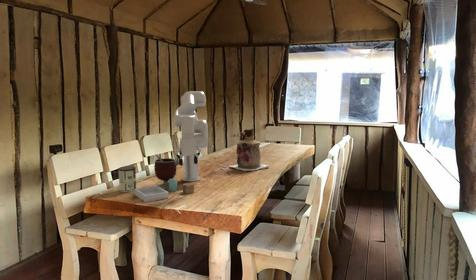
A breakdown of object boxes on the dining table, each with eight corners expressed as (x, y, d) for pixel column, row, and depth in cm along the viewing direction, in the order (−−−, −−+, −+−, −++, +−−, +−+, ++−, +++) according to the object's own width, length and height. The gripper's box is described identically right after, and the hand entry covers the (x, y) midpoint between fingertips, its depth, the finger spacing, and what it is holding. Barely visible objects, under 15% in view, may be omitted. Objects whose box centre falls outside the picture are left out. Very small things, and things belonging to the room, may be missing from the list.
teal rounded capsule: (167, 190, 229) (167, 179, 228) (175, 188, 232) (175, 178, 231) (171, 191, 225) (170, 180, 224) (178, 190, 228) (178, 179, 227)
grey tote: (134, 194, 219) (134, 188, 219) (157, 191, 227) (156, 185, 227) (145, 202, 204) (144, 196, 204) (168, 198, 212) (168, 192, 212)
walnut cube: (182, 192, 225) (182, 184, 225) (190, 190, 228) (190, 182, 227) (186, 193, 221) (186, 185, 220) (194, 192, 224) (193, 184, 223)
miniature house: (128, 186, 237) (127, 165, 235) (140, 189, 232) (139, 167, 230) (115, 190, 228) (114, 168, 226) (127, 192, 223) (126, 170, 221)
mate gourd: (181, 185, 241) (180, 155, 238) (165, 190, 229) (165, 158, 227) (164, 182, 249) (163, 152, 247) (148, 186, 238) (147, 156, 235)
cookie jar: (250, 163, 313) (250, 126, 308) (270, 168, 294) (270, 128, 290) (227, 167, 297) (226, 127, 293) (247, 172, 278) (247, 130, 274)
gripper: (197, 135, 228) (198, 162, 230) (171, 136, 218) (172, 165, 220) (203, 136, 222) (204, 164, 224) (177, 137, 212) (177, 167, 214)
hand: (188, 164), depth 222 cm, fingers open, 9 cm apart
